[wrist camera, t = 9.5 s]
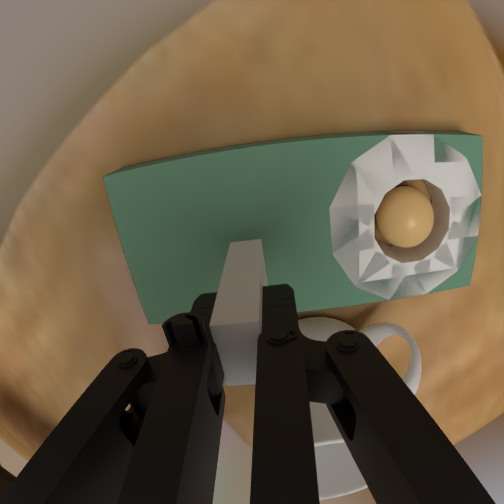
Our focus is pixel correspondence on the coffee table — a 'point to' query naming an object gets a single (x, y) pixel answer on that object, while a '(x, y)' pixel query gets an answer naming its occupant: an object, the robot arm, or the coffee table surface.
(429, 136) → the putting strip
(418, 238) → the ball
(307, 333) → the mug
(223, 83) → the coffee table surface
